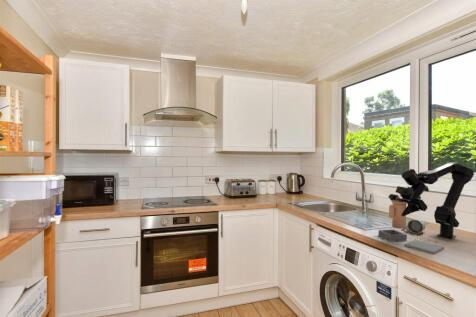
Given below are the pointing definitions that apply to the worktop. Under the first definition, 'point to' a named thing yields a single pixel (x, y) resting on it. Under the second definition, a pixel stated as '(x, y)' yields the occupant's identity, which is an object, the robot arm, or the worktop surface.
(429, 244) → the mat
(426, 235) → the worktop surface
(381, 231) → the holder
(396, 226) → the peach rounded cylinder
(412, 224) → the ceramic mug
